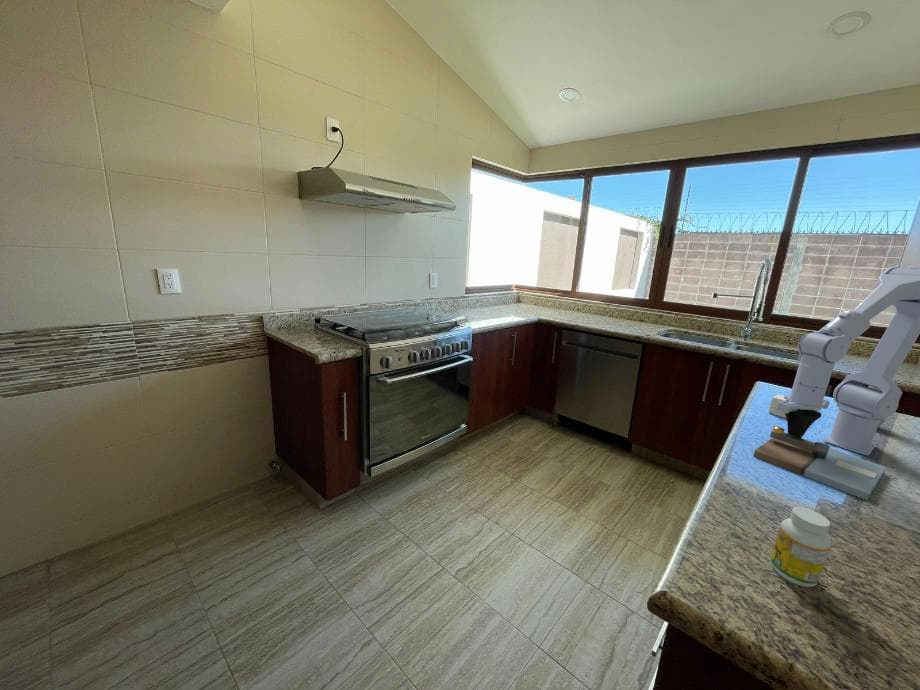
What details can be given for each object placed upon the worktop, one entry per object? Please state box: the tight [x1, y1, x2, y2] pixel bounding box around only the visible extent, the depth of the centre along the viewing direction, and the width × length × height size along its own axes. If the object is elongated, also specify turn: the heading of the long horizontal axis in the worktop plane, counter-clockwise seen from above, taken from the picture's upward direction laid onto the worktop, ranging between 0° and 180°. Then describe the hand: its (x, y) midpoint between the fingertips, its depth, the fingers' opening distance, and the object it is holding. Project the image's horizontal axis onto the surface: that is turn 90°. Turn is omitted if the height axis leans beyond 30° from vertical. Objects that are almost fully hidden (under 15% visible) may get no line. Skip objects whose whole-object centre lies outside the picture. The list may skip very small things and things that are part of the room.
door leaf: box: [802, 447, 887, 501], centre depth 81 cm, size 18×10×2 cm, turn 125°
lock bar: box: [769, 425, 831, 458], centre depth 88 cm, size 10×2×3 cm, turn 35°
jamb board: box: [753, 437, 818, 476], centre depth 88 cm, size 18×9×2 cm, turn 125°
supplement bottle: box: [769, 506, 832, 588], centre depth 54 cm, size 5×5×10 cm
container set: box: [768, 394, 787, 419], centre depth 115 cm, size 20×5×6 cm, turn 123°
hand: (794, 437), depth 91 cm, fingers closed
